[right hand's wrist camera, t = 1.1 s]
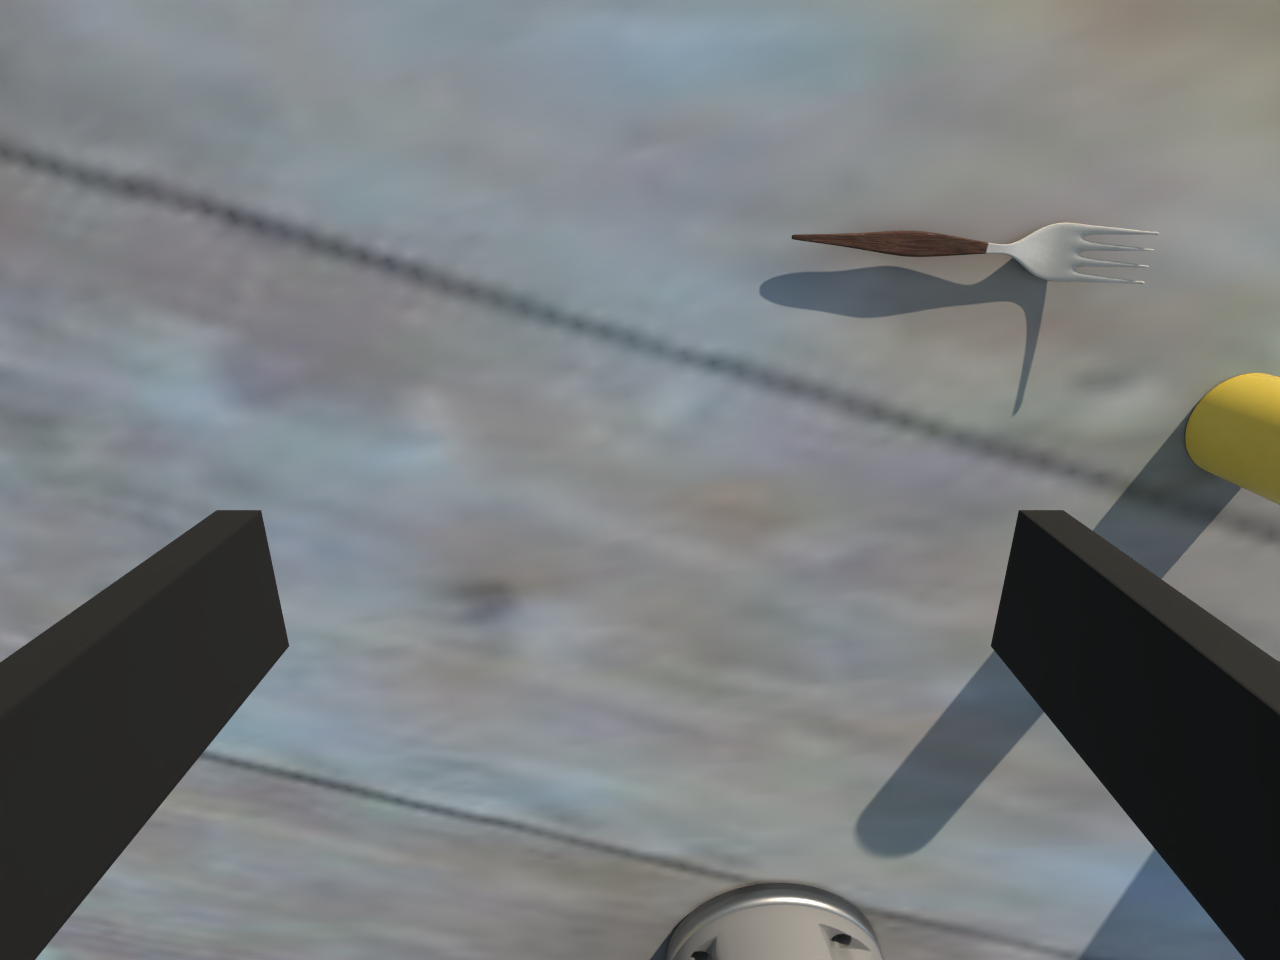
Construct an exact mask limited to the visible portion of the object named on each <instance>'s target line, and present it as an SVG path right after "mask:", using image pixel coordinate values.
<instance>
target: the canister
mask: <svg viewBox="0 0 1280 960" xmlns="http://www.w3.org/2000/svg"><path fill="white" fill-rule="evenodd" d="M1185 443H1186V448H1187V451H1188V454H1189V456H1190V457H1191V459H1192V460H1193V461H1194V463H1195V464H1196V465H1198V466H1199V467H1200V468H1202V469H1204V470H1205V471H1207V472H1210V473H1212V474H1214V475H1216V476H1218V477H1220V478H1223V479H1225V480H1227V481H1229V482H1231V483H1233V484H1236V485H1238V486H1240V487H1242V488H1244V489H1246V490H1249V491H1251V492H1253V493H1255V494H1257V495H1259V496H1262V497H1264V498H1266V499H1268V500H1270V501H1272V502H1275V503H1277V504H1279V505H1280V377H1276V376H1272V375H1268V374H1263V373H1249V374H1244V375H1240V376H1236V377H1233V378H1231V379H1229V380H1226V381H1224V382H1223V383H1221V384H1219V385H1218V386H1216V387H1215V388H1213V389H1212V390H1211V391H1210V392H1209V393H1207V394H1206V395H1205V396H1204V397H1203V398H1202V399H1201V401H1200V402H1199V403H1198V404H1197V406H1196V407H1195V409H1194V410H1193V412H1192V414H1191V416H1190V418H1189V421H1188V424H1187V428H1186V433H1185Z"/></svg>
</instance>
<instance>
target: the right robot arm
mask: <svg viewBox="0 0 1280 960" xmlns="http://www.w3.org/2000/svg"><path fill="white" fill-rule="evenodd" d="M288 647H289V643H288V639H287V634H286V629H285V624H284V619H283V614H282V610H281V605H280V600H279V595H278V590H277V585H276V580H275V576H274V571H273V566H272V561H271V556H270V551H269V547H268V542H267V537H266V532H265V527H264V522H263V518H262V513H261V510H217V511H215V512H214V513H212V514H211V515H210V516H208V517H207V518H205V519H204V520H202V521H201V522H200V523H198V524H197V525H195V526H194V527H192V528H191V529H190V530H188V531H187V532H185V533H184V534H183V535H181V536H180V537H178V538H177V539H175V540H174V541H173V542H171V543H170V544H168V545H167V546H165V547H164V548H163V549H161V550H160V551H158V552H157V553H156V554H154V555H153V556H151V557H150V558H148V559H147V560H146V561H144V562H143V563H141V564H140V565H138V566H137V567H136V568H134V569H133V570H131V571H130V572H128V573H127V574H126V575H124V576H123V577H121V578H120V579H119V580H117V581H116V582H114V583H113V584H111V585H110V586H109V587H107V588H106V589H104V590H103V591H101V592H100V593H99V594H97V595H96V596H94V597H93V598H92V599H90V600H89V601H87V602H86V603H84V604H83V605H82V606H80V607H79V608H77V609H76V610H74V611H73V612H72V613H70V614H69V615H67V616H66V617H64V618H63V619H62V620H60V621H59V622H57V623H56V624H55V625H53V626H52V627H50V628H49V629H47V630H46V631H45V632H43V633H42V634H40V635H39V636H37V637H36V638H35V639H33V640H32V641H30V642H29V643H28V644H26V645H25V646H23V647H22V648H20V649H19V650H18V651H16V652H15V653H13V654H12V655H10V656H9V657H8V658H6V659H5V660H3V661H2V662H0V960H35V959H36V958H37V957H38V955H39V954H40V953H41V952H42V950H43V949H44V948H45V947H46V945H47V944H48V943H49V942H50V941H51V939H52V938H53V937H54V936H55V934H56V933H57V932H58V931H59V929H60V928H61V927H62V926H63V924H64V923H65V922H66V921H67V920H68V918H69V917H70V916H71V915H72V913H73V912H74V911H75V910H76V908H77V907H78V906H79V905H80V903H81V902H82V901H83V900H84V899H85V897H86V896H87V895H88V894H89V892H90V891H91V890H92V889H93V887H94V886H95V885H96V884H97V882H98V881H99V880H100V879H101V878H102V876H103V875H104V874H105V873H106V871H107V870H108V869H109V868H110V866H111V865H112V864H113V863H114V862H115V860H116V859H117V858H118V857H119V855H120V854H121V853H122V852H123V850H124V849H125V848H126V847H127V845H128V844H129V843H130V842H131V841H132V839H133V838H134V837H135V836H136V834H137V833H138V832H139V831H140V829H141V828H142V827H143V826H144V824H145V823H146V822H147V821H148V820H149V818H150V817H151V816H152V815H153V813H154V812H155V811H156V810H157V808H158V807H159V806H160V805H161V803H162V802H163V801H164V800H165V799H166V797H167V796H168V795H169V794H170V792H171V791H172V790H173V789H174V787H175V786H176V785H177V784H178V783H179V781H180V780H181V779H182V778H183V776H184V775H185V774H186V773H187V771H188V770H189V769H190V768H191V766H192V765H193V764H194V763H195V762H196V760H197V759H198V758H199V757H200V755H201V754H202V753H203V752H204V750H205V749H206V748H207V747H208V745H209V744H210V743H211V742H212V741H213V739H214V738H215V737H216V736H217V734H218V733H219V732H220V731H221V729H222V728H223V727H224V726H225V724H226V723H227V722H228V721H229V720H230V718H231V717H232V716H233V715H234V713H235V712H236V711H237V710H238V708H239V707H240V706H241V705H242V704H243V702H244V701H245V700H246V699H247V697H248V696H249V695H250V694H251V692H252V691H253V690H254V689H255V687H256V686H257V685H258V684H259V683H260V681H261V680H262V679H263V678H264V676H265V675H266V674H267V673H268V671H269V670H270V669H271V668H272V666H273V665H274V664H275V663H276V662H277V660H278V659H279V658H280V657H281V655H282V654H283V653H284V652H285V650H286V649H287V648H288ZM991 647H992V648H993V649H994V650H995V652H996V653H997V654H998V655H999V657H1000V658H1001V659H1002V660H1003V662H1004V663H1005V664H1006V665H1007V666H1008V668H1009V669H1010V670H1011V671H1012V673H1013V674H1014V675H1015V676H1016V678H1017V679H1018V680H1019V681H1020V683H1021V684H1022V685H1023V686H1024V687H1025V689H1026V690H1027V691H1028V692H1029V694H1030V695H1031V696H1032V697H1033V699H1034V700H1035V701H1036V702H1037V704H1038V705H1039V706H1040V707H1041V708H1042V710H1043V711H1044V712H1045V713H1046V715H1047V716H1048V717H1049V718H1050V720H1051V721H1052V722H1053V723H1054V724H1055V726H1056V727H1057V728H1058V729H1059V731H1060V732H1061V733H1062V734H1063V736H1064V737H1065V738H1066V739H1067V741H1068V742H1069V743H1070V744H1071V745H1072V747H1073V748H1074V749H1075V750H1076V752H1077V753H1078V754H1079V755H1080V757H1081V758H1082V759H1083V760H1084V762H1085V763H1086V764H1087V765H1088V766H1089V768H1090V769H1091V770H1092V771H1093V773H1094V774H1095V775H1096V776H1097V778H1098V779H1099V780H1100V781H1101V783H1102V784H1103V785H1104V786H1105V787H1106V789H1107V790H1108V791H1109V792H1110V794H1111V795H1112V796H1113V797H1114V799H1115V800H1116V801H1117V802H1118V803H1119V805H1120V806H1121V807H1122V808H1123V810H1124V811H1125V812H1126V813H1127V815H1128V816H1129V817H1130V818H1131V820H1132V821H1133V822H1134V823H1135V824H1136V826H1137V827H1138V828H1139V829H1140V831H1141V832H1142V833H1143V834H1144V836H1145V837H1146V838H1147V839H1148V841H1149V842H1150V843H1151V844H1152V845H1153V847H1154V848H1155V849H1156V850H1157V852H1158V853H1159V854H1160V855H1161V857H1162V858H1163V859H1164V860H1165V862H1166V863H1167V864H1168V865H1169V866H1170V868H1171V869H1172V870H1173V871H1174V873H1175V874H1176V875H1177V876H1178V878H1179V879H1180V880H1181V881H1182V882H1183V884H1184V885H1185V886H1186V887H1187V889H1188V890H1189V891H1190V892H1191V894H1192V895H1193V896H1194V897H1195V899H1196V900H1197V901H1198V902H1199V903H1200V905H1201V906H1202V907H1203V908H1204V910H1205V911H1206V912H1207V913H1208V915H1209V916H1210V917H1211V918H1212V920H1213V921H1214V922H1215V923H1216V924H1217V926H1218V927H1219V928H1220V929H1221V931H1222V932H1223V933H1224V934H1225V936H1226V937H1227V938H1228V939H1229V941H1230V942H1231V943H1232V944H1233V945H1234V947H1235V948H1236V949H1237V950H1238V952H1239V953H1240V954H1241V955H1242V957H1243V958H1244V959H1245V960H1280V662H1279V661H1277V660H1275V659H1274V658H1272V657H1271V656H1270V655H1268V654H1267V653H1265V652H1264V651H1262V650H1261V649H1260V648H1258V647H1257V646H1255V645H1254V644H1252V643H1251V642H1250V641H1248V640H1247V639H1245V638H1244V637H1243V636H1241V635H1240V634H1238V633H1237V632H1235V631H1234V630H1233V629H1231V628H1230V627H1228V626H1227V625H1225V624H1224V623H1223V622H1221V621H1220V620H1218V619H1217V618H1216V617H1214V616H1213V615H1211V614H1210V613H1208V612H1207V611H1206V610H1204V609H1203V608H1201V607H1200V606H1198V605H1197V604H1196V603H1194V602H1193V601H1191V600H1190V599H1188V598H1187V597H1186V596H1184V595H1183V594H1181V593H1180V592H1179V591H1177V590H1176V589H1174V588H1173V587H1171V586H1170V585H1169V584H1167V583H1166V582H1164V581H1163V580H1161V579H1160V578H1159V577H1157V576H1156V575H1154V574H1153V573H1152V572H1150V571H1149V570H1147V569H1146V568H1144V567H1143V566H1142V565H1140V564H1139V563H1137V562H1136V561H1134V560H1133V559H1132V558H1130V557H1129V556H1127V555H1126V554H1124V553H1123V552H1122V551H1120V550H1119V549H1117V548H1116V547H1115V546H1113V545H1112V544H1110V543H1109V542H1107V541H1106V540H1105V539H1103V538H1102V537H1100V536H1099V535H1097V534H1096V533H1095V532H1093V531H1092V530H1090V529H1089V528H1088V527H1086V526H1085V525H1083V524H1082V523H1080V522H1079V521H1078V520H1076V519H1075V518H1073V517H1072V516H1070V515H1069V514H1068V513H1066V512H1065V511H1063V510H1019V513H1018V518H1017V522H1016V527H1015V532H1014V537H1013V542H1012V547H1011V551H1010V556H1009V561H1008V566H1007V571H1006V576H1005V580H1004V585H1003V590H1002V595H1001V600H1000V605H999V610H998V614H997V619H996V624H995V629H994V634H993V639H992V643H991ZM665 960H883V956H882V953H881V950H880V947H879V944H878V941H877V938H876V935H875V932H874V930H873V928H872V926H871V924H870V923H869V921H868V920H867V919H866V917H865V916H864V915H863V914H862V913H861V912H860V911H859V910H858V909H857V908H856V907H854V906H853V905H852V904H850V903H849V902H847V901H846V900H844V899H842V898H841V897H839V896H837V895H835V894H832V893H830V892H827V891H824V890H821V889H818V888H814V887H810V886H805V885H798V884H788V883H769V884H759V885H753V886H747V887H743V888H739V889H735V890H732V891H729V892H726V893H724V894H721V895H719V896H717V897H715V898H713V899H711V900H709V901H707V902H705V903H704V904H702V905H701V906H699V907H698V908H696V909H695V910H694V911H692V912H691V913H690V914H689V915H688V916H687V917H686V918H685V919H684V920H683V921H682V922H681V923H680V924H679V926H678V927H677V929H676V930H675V932H674V933H673V935H672V937H671V939H670V941H669V944H668V947H667V951H666V959H665Z"/></svg>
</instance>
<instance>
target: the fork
mask: <svg viewBox="0 0 1280 960" xmlns="http://www.w3.org/2000/svg"><path fill="white" fill-rule="evenodd" d="M1090 234H1153V235H1159V232H1148V231H1139V230H1130V229H1121V228H1111V227H1101V226H1092V225H1084V224H1076V223H1056V224H1052V225H1049V226H1046V227H1043V228H1041V229H1039V230H1037V231H1035V232H1033V233H1032V234H1030V235H1028V236H1027V237H1025V238H1023V239H1021V240H1019V241H1017V242H1015V243H1012V244H1006V245H1002V244H993V243H987V242H981V241H976V240H971V239H965V238H960V237H954V236H949V235H943V234H937V233H930V232H922V231H886V232H869V233H849V234H808V235H792V239H795V240H801V241H809V242H816V243H823V244H830V245H837V246H844V247H850V248H856V249H862V250H868V251H874V252H879V253H885V254H891V255H899V256H910V257H929V256H950V255H967V254H986V253H1002V254H1007V255H1009V256H1011V257H1013V258H1014V259H1016V260H1017V261H1018V262H1019V263H1020V264H1021V265H1022V266H1023V267H1024V268H1025V269H1027V270H1028V271H1029V272H1030V273H1032V274H1033V275H1035V276H1037V277H1039V278H1041V279H1045V280H1050V281H1080V282H1106V283H1137V284H1144V282H1143V281H1133V280H1126V279H1119V278H1112V277H1104V276H1097V275H1089V274H1083V273H1079V272H1076V270H1075V269H1076V268H1077V267H1081V266H1102V267H1149V266H1146V265H1138V264H1131V263H1123V262H1116V261H1108V260H1099V259H1091V258H1086V257H1082V256H1080V252H1082V251H1087V250H1105V251H1154V250H1153V249H1146V248H1138V247H1130V246H1121V245H1113V244H1104V243H1096V242H1090V241H1086V240H1085V239H1084V236H1086V235H1090Z"/></svg>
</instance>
